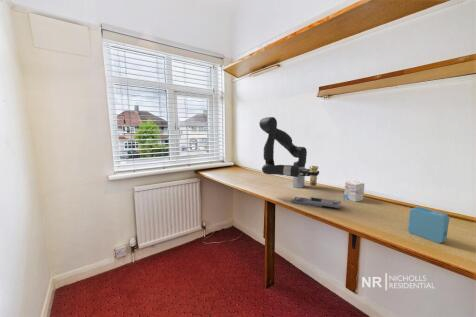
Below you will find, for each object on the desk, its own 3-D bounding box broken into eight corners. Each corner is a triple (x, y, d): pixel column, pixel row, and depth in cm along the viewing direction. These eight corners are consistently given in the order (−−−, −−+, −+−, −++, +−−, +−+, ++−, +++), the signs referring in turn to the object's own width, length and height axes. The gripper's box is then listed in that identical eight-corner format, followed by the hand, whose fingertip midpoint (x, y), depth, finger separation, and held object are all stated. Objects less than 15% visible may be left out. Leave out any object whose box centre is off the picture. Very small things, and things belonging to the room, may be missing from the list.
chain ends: (292, 202, 134) (292, 196, 134) (295, 198, 142) (295, 193, 141) (340, 210, 121) (340, 203, 120) (340, 205, 128) (341, 199, 128)
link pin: (309, 183, 136) (310, 165, 134) (318, 184, 133) (319, 166, 131) (308, 185, 131) (308, 166, 129) (316, 186, 129) (317, 167, 127)
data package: (446, 241, 87) (450, 214, 86) (442, 244, 85) (446, 217, 83) (411, 229, 98) (414, 205, 96) (407, 232, 96) (410, 207, 94)
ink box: (343, 198, 142) (344, 179, 141) (351, 196, 146) (353, 177, 144) (355, 202, 135) (356, 182, 133) (363, 200, 138) (365, 180, 136)
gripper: (288, 167, 131) (316, 169, 123) (294, 163, 144) (320, 165, 135) (288, 178, 132) (316, 181, 124) (293, 174, 145) (319, 176, 136)
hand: (318, 173), depth 130 cm, fingers closed on link pin, 4 cm apart
